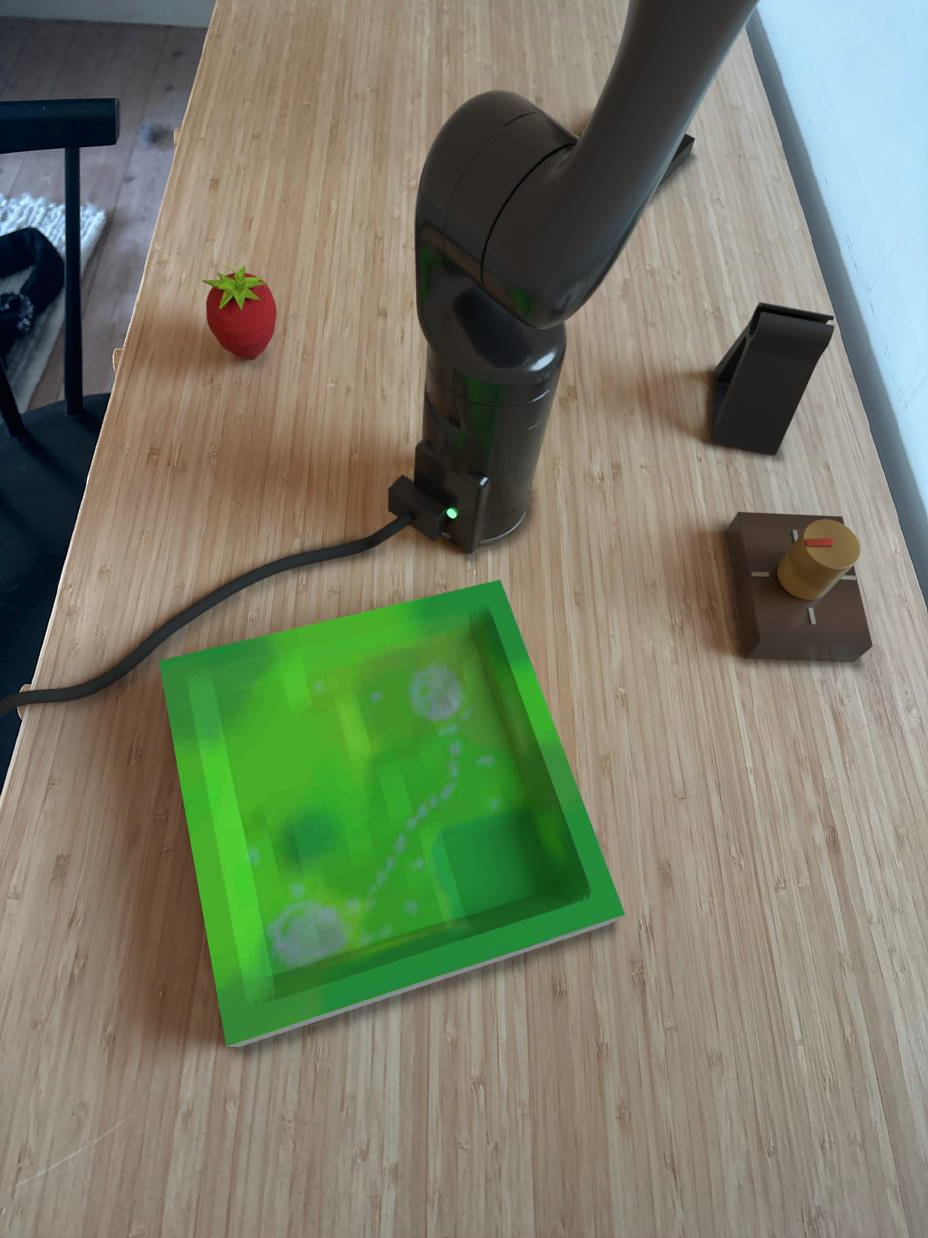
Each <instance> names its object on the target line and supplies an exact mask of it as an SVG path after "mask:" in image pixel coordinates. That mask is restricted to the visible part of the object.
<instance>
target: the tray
mask: <svg viewBox="0 0 928 1238" xmlns="http://www.w3.org/2000/svg"><path fill="white" fill-rule="evenodd" d="M158 664H159V669H160V675H161V682H162V687H163V693H164V698H165V703H166V709H167V716H168V720H169V727H170V733H171V738H172V744H173V750H174V755H175V759H176V760H175V762H176V767H177V772H178V778H179V784H180V790H181V796H182V801H183V807H184V812H185V819H186V824H187V829H188V835H189V841H190V847H191V852H192V858H193V864H194V865H193V866H194V869H195V875H196V882H197V886H198V892H199V897H200V898H199V900H200V904H201V910H202V916H203V922H204V929H205V933H206V939H207V944H208V951H209V956H210V961H211V967H212V972H213V973H212V974H213V978H214V984H215V985H214V986H215V990H216V995H217V996H216V997H217V1002H218V1008H219V1013H220V1018H221V1024H222V1025H221V1026H222V1029H223V1031H222V1032H223V1036H224V1042H225V1046H226V1047H230V1048H231V1047H232V1048H241V1047H244V1046H247V1045H249V1044H252V1043H257V1042H259V1041H262V1040H265V1039H268V1038H271V1037H274V1036H277V1035H280V1034H283V1033H286V1032H289V1031H292V1030H295V1029H298V1028H301V1027H305V1026H307V1025H310V1024H313V1023H316V1022H319V1021H322V1020H325V1019H328V1018H331V1017H334V1016H338V1015H340V1014H343V1013H346V1012H349V1011H352V1010H355V1009H359V1008H362V1007H364V1006H367V1005H370V1004H374V1003H376V1002H379V1001H383V1000H385V999H389V998H392V997H395V996H397V995H401V994H404V993H407V992H410V991H413V990H415V989H419V988H421V987H426V986H427V985H431V984H435V983H437V982H440V981H443V980H445V979H449V978H452V977H455V976H458V975H461V974H464V973H468V972H470V971H474V970H477V969H479V968H482V967H485V966H489V965H491V964H494V963H498V962H500V961H502V960H503V961H504V960H506V959H510V958H512V957H516V956H519V955H521V954H525V953H528V952H530V951H533V950H536V949H539V948H543V947H546V946H548V945H552V944H555V943H558V942H560V941H564V940H567V939H570V938H574V937H576V936H579V935H582V934H585V933H588V932H591V931H594V930H597V929H600V928H602V927H603V928H604V927H606V926H608V925H610V924H612V923H614V922H615V921H617V920H619V919H620V918H622V917H624V916H626V912H625V909H624V907H623V904H622V902H621V899H620V896H619V893H618V891H617V888H616V885H615V882H614V880H613V876H612V874H611V872H610V870H609V869H610V868H609V867H608V863H607V860H606V858H605V856H604V853H603V851H602V847H601V846H600V842H599V840H598V836H597V835H596V831H595V829H594V827H593V824H592V821H591V818H590V816H589V812H588V810H587V807H586V805H585V803H584V799H583V797H582V794H581V791H580V789H579V786H578V783H577V781H576V778H575V776H574V772H573V769H572V767H571V765H570V761H569V759H568V756H567V753H566V751H565V748H564V746H563V743H562V740H561V737H560V735H559V732H558V730H557V727H556V725H555V721H554V719H553V716H552V714H551V711H550V708H549V705H548V703H547V700H546V697H545V695H544V692H543V690H542V686H541V683H540V681H539V679H538V676H537V673H536V671H535V667H534V665H533V663H532V660H531V657H530V654H529V651H528V649H527V646H526V643H525V641H524V639H523V636H522V633H521V630H520V627H519V625H518V622H517V620H516V617H515V614H514V611H513V608H512V607H511V604H510V601H509V598H508V595H507V593H506V589H505V587H504V584H503V582H502V579H497V580H492V581H487V582H483V583H479V584H476V585H472V586H467V587H463V588H459V589H458V588H457V589H453V590H451V591H446V592H442V593H438V594H435V595H430V596H425V597H421V598H417V599H413V600H408V601H404V602H399V603H395V604H391V605H387V606H382V607H378V608H375V609H371V610H367V611H362V612H357V613H353V614H349V615H345V616H341V617H337V618H333V619H328V620H324V621H320V622H315V623H311V624H307V625H302V626H299V627H294V628H290V629H286V630H282V631H278V632H277V631H276V632H273V633H269V634H265V635H261V636H257V637H253V638H248V639H244V640H240V641H237V642H235V641H234V642H230V643H227V644H222V645H218V646H215V647H211V648H206V649H201V650H198V651H194V652H190V653H185V654H181V655H176V656H172V657H168V658H164V659H160V660H158Z"/></svg>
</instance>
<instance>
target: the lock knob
mask: <svg viewBox="0 0 928 1238" xmlns="http://www.w3.org/2000/svg"><path fill="white" fill-rule="evenodd" d="M860 555H861V543H860V541H859V539H858V537H857V536H856V534H855V533H854V532H853V531H852V530H851V529H850V528H849V527H848V526H847V525H845V524H844V525H843V524H841V523H839V522H837V521H833V520H828V519H823V520H817V521H814V522H812V523H811V524H809V525H808V526H807V527H806V528H805V530H804V531H803V532H802V533H801V535H800V536H799V537H798V539H797V540H796V541H795V542H794V544H793V545H792V546H791V547H790V549H789V550H788V551H787V552H786V554H785V555H784V556H783V557H782V559H781V560H780V561H779V563H778V566H777V576H778V579H779V581H780V583H781V585H782V586H783V588H784V589H785V590H786V591H787V592H789V593H790V594H791V595H793V596H795V597H797V598H800V599H804V600H815V599H819V598H821V597H823V596H824V595H826V594H827V592H828V591H829V590H830V589H831V588H832V587H833V586H834V585H835V584H836V583H837V582H838V581H839V580H840V579H841V578H842V577H843V576H844V575H845V574H846V573H847V571H848V570H849V569H850V568H851V567H852V566H853V565H854V566H855V564H857V562H858V560H859V559H860Z"/></svg>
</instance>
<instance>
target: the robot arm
mask: <svg viewBox="0 0 928 1238" xmlns="http://www.w3.org/2000/svg"><path fill="white" fill-rule="evenodd" d="M760 1H761V0H629V1H628V7H627V12H626V18H625V22H624V27H623V31H622V36H621V39H620V42H619V45H618V49H617V52H616V55H615V57H614V61H613V63H612V66H611V67H610V71H609V73H608V75H607V78H606V81H605V84H604V86H603V88H602V90H601V93H600V95H599V97H598V99H597V101H596V104H595V106H594V108H593V110H592V113H591V115H590V117H589V119H588V121H587V123H586V125H585V127H584V129H583V131H582V132H583V133H582V132H581V133H582V134H581V133H580V134H581V136H580V138H579V137H578V136H579V135H577V134H575V133H574V132H572V131H571V130H570V129H569V128H567V127H566V126H565V125H563V124H562V123H561V122H560V121H558V120H557V119H555V118H554V117H553V116H552V115H551V114H549V113H548V112H546V111H545V110H543V109H542V108H540V107H539V106H538V105H537V104H535V103H533V102H532V101H531V100H529V99H528V98H526V97H524V96H522V95H521V94H518V93H517V92H514V91H510V90H502V89H493V90H488V91H484V92H481V93H479V94H476V95H474V96H473V97H471V98H468V99H467V100H466V101H464V102H463V103H462V104H461V105H460V106H458V108H456V109H455V110H454V112H453V113H452V114H451V115H450V116H449V117H448V118H447V120H446V121H445V122H444V123H443V124H442V126H441V127H440V129H439V131H438V132H437V134H436V136H435V138H434V139H433V141H432V143H431V146H430V148H429V150H428V153H427V155H426V158H425V161H424V162H423V163H424V164H423V166H422V170H421V172H420V177H419V182H418V186H417V190H416V191H417V193H416V198H415V206H414V207H415V209H414V223H413V224H414V225H413V226H414V227H413V229H414V231H413V232H414V238H413V240H414V273H415V275H414V276H415V278H414V279H415V309H416V316H417V320H418V321H417V322H418V324H419V327H420V329H421V333H422V334H423V337H424V339H425V342H426V354H425V355H426V356H425V357H426V359H425V374H424V388H423V389H424V390H423V404H422V405H423V407H422V422H421V423H422V424H421V440H419V442H417V444H416V445H415V446H414V467H413V480H412V479H411V478H409V477H408V476H406V475H404V474H401V475H400V476H399V477H397V478H396V480H395V481H394V482H393V483H392V484H391V485H390V486H389V487H388V488H387V511H388V513H390V514H392V515H393V516H395V519H393V520H392V521H391V522H389V523H387V524H386V525H384V526H383V527H381V528H379V529H378V530H376V531H375V532H373V533H372V534H370V535H368V536H366V537H363V538H360V539H357V540H353V541H350V542H347V543H343V544H339V545H334V546H330V547H329V546H328V547H324V548H319V549H315V550H310V551H305V552H304V551H303V552H300V553H296V554H292V555H289V556H286V557H282V558H279V559H276V560H274V561H271V562H268V563H265V564H264V565H261V566H259V567H256V568H255V569H252V570H250V571H248V572H245V573H244V574H242V575H240V576H237V577H236V578H234V579H232V580H230V581H228V582H226V583H225V584H223V585H222V586H219V587H218V588H216V589H215V590H213V591H212V592H210V593H208V594H206V595H205V596H203V597H202V598H201V599H199V600H197V601H195V602H194V603H193V604H191V605H190V606H188V607H186V608H185V609H183V610H182V611H181V612H178V613H177V614H176V615H175V616H173V617H172V618H170V619H168V620H167V621H166V622H165V623H163V624H162V625H161V626H159V627H158V628H157V629H156V630H155V631H154V632H152V633H151V634H150V635H149V636H148V637H146V639H144V640H143V641H142V642H141V643H140V644H139V645H138V646H137V647H136V648H135V649H133V651H131V652H130V653H129V654H128V655H126V656H125V658H123V659H122V660H120V661H119V662H118V663H116V664H115V665H114V666H112V667H111V668H110V669H108V670H106V671H104V672H103V673H102V674H100V675H98V676H96V677H94V678H92V679H89V680H88V681H84V682H82V683H79V684H76V685H72V686H65V687H58V688H41V689H30V690H23V691H18V692H15V693H12V694H10V695H8V696H6V697H4V698H2V699H1V700H0V719H1V718H4V717H6V716H7V715H8V714H9V713H10V712H11V711H13V710H15V709H17V708H19V707H23V706H24V707H25V706H27V705H36V704H37V705H38V704H50V703H51V704H52V703H61V702H70V701H74V700H79V699H82V698H87V697H89V696H92V695H94V694H97V693H98V692H101V691H103V690H104V689H106V688H108V687H109V686H111V685H113V684H115V683H117V682H118V681H119V680H120V679H122V678H123V677H125V676H126V675H127V674H129V673H130V672H131V671H132V670H134V669H135V668H137V666H139V665H140V664H141V662H143V661H144V660H145V659H146V658H147V657H148V656H150V655H151V653H153V652H155V650H156V649H157V648H158V647H160V646H161V645H162V644H163V643H164V642H165V641H166V640H167V639H169V638H170V637H171V636H173V634H175V633H176V632H178V631H179V630H181V629H182V628H183V627H185V626H186V625H188V624H189V623H190V622H193V621H194V620H195V619H197V618H198V617H200V616H201V615H203V614H204V613H206V612H208V611H209V610H211V609H212V608H214V607H215V606H217V605H219V604H220V603H221V602H223V601H225V600H227V599H228V598H229V597H231V596H233V595H235V594H237V593H239V592H240V591H242V590H244V589H246V588H248V587H250V586H252V585H254V584H255V583H258V582H260V581H263V580H265V579H267V578H270V577H273V576H274V575H277V574H280V573H283V572H286V571H289V570H291V569H296V568H299V567H302V566H303V567H304V566H306V565H311V564H315V563H321V562H325V561H330V560H334V559H339V558H345V557H349V556H353V555H356V554H359V553H362V552H365V551H368V550H371V549H373V548H375V547H378V546H379V545H381V544H382V543H383V542H386V541H387V540H388V539H390V538H392V537H393V536H395V535H396V534H398V533H399V532H401V531H403V529H405V528H406V527H408V526H410V527H412V528H413V529H415V530H416V531H417V532H419V533H420V534H422V535H423V536H425V537H427V538H428V539H430V540H431V541H433V542H435V541H436V540H437V539H438V538H439V537H441V538H443V539H444V540H447V541H448V542H450V543H451V544H452V545H454V546H455V547H457V548H459V549H460V550H462V551H463V552H465V553H466V554H468V555H472V554H473V553H474V552H476V550H477V549H478V548H479V547H484V546H490V545H494V544H496V543H497V544H498V543H500V542H501V541H504V540H506V539H507V538H509V537H511V536H512V535H513V534H514V533H515V532H516V531H517V530H518V529H519V528H520V526H521V525H522V524H523V522H524V520H525V518H526V515H527V511H528V507H529V500H530V495H531V491H532V486H533V482H534V479H535V475H536V471H537V466H538V463H539V459H540V455H541V451H542V446H543V443H544V439H545V435H546V431H547V427H548V423H549V419H550V415H551V411H552V407H553V405H554V400H555V396H556V394H557V393H556V392H557V388H558V384H559V381H560V376H561V372H562V369H563V365H564V361H565V357H566V352H567V348H568V347H567V346H568V329H567V325H566V321H567V320H569V319H571V317H573V316H574V315H575V314H576V313H577V312H578V311H579V310H580V309H581V308H583V306H585V305H586V304H587V303H588V301H589V300H590V299H591V297H592V296H593V295H594V294H595V293H596V292H597V290H598V289H599V288H600V287H601V286H602V284H603V282H604V281H605V279H606V278H607V277H608V275H609V274H610V272H611V271H612V270H613V268H614V266H615V265H616V264H617V261H618V260H619V258H620V257H621V255H622V253H623V251H624V250H625V248H626V246H627V245H628V243H629V241H630V240H631V238H632V236H633V234H634V232H635V230H636V228H637V227H638V224H639V223H640V221H641V220H642V217H643V216H644V213H646V210H647V209H648V206H649V204H650V202H651V200H652V198H653V197H654V194H655V193H656V191H657V190H658V189H657V187H658V185H659V183H660V181H661V179H662V177H663V175H664V173H665V171H666V170H667V168H668V166H669V164H670V162H671V160H672V158H673V156H674V154H675V152H676V150H677V148H678V146H679V145H680V143H681V141H682V139H683V137H684V135H685V133H686V134H687V131H688V130H689V127H690V125H691V123H692V122H693V120H694V118H695V115H696V114H697V112H698V110H699V109H700V106H701V104H702V103H703V100H704V98H705V97H706V94H707V93H708V91H709V89H710V88H711V85H712V83H713V82H714V80H715V78H716V76H717V75H718V73H719V71H720V69H722V66H723V64H724V62H725V60H726V59H727V57H728V55H729V54H730V52H731V50H732V48H733V46H734V45H735V43H736V41H737V40H738V38H739V37H740V34H741V32H742V31H743V29H744V27H745V26H746V24H747V22H749V19H750V18H751V16H752V15H753V13H754V11H755V9H756V8H757V6H758V4H759V3H760ZM656 189H657V190H656Z"/></svg>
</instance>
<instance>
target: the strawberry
mask: <svg viewBox="0 0 928 1238" xmlns="http://www.w3.org/2000/svg"><path fill="white" fill-rule="evenodd" d="M246 265H247V264H246V263H245V264H244V265H243V266H241V268H240V269H238V271H237V272H236V271H235V270H233V269H231V268H229V267H227V266H226V265H224V264H223V265H222V267H223V268H225V269H227V270H229V271H231V272H232V273H228V274H226V275H225V274H222V273H220V272H217V276H218V277H219V278H220V279H202V283H204V284H207V285H209V286H211V289H210V290H209V291H208V294H207V296H206V302H205V310H206V322H207V326H208V328H209V330H210V332H211V333H212V334H213V336H214V338H215V339H216V340H217V342H218V343H219V345H220V346H221V347H222V348H223V349H224V350H225V351H227V352H229V353H230V354H233V355H235V356H237V357H238V358H242V359H245V360H246V359H247V360H250V361H253V360H256V359H257V358H258V357H259V356H260V355H262V353H263V352H264V351H265V350H266V348H267V347H268V345H269V344H270V343H271V341H272V339H273V336H274V334H275V328H276V322H277V315H278V310H277V303H276V301H275V299H274V296H273V293H272V291H271V289H270V287H269V286H268V283H267V282H265V281H264V280H263V278H264V277H263V276H257V275H254V274H251V273H248V272H246Z"/></svg>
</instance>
